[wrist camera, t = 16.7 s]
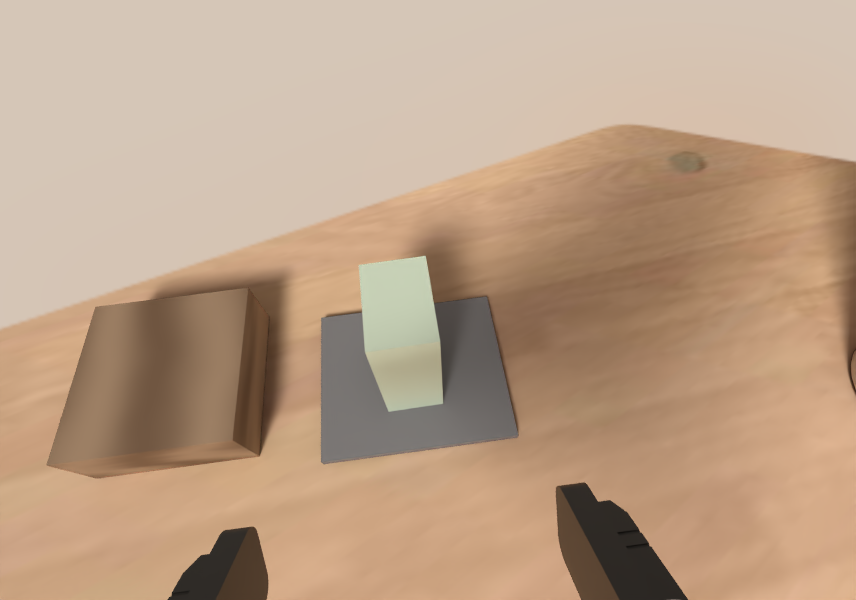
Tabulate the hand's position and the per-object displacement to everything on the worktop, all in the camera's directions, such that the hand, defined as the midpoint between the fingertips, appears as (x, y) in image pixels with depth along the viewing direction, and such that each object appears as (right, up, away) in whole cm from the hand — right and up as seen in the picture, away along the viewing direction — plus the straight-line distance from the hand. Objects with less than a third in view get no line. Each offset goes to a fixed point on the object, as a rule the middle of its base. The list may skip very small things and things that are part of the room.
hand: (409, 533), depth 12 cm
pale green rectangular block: (-1, +1, +18) cm, 18 cm away
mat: (-1, +1, +18) cm, 18 cm away
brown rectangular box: (-16, 0, +18) cm, 24 cm away
